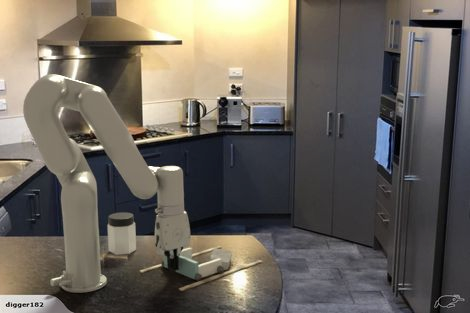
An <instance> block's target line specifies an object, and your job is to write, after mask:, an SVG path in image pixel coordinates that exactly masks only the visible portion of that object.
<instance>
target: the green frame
mask: <svg viewBox="0 0 470 313" xmlns="http://www.w3.org/2000/svg"><path fill="white" fill-rule="evenodd" d="M192 254H193V247H185V248H184V249H183V250H182V251H181V254H180V256H179V270H176V271H175V273H178V274H180V275H183V276H186V277H187V278H190V279H192V280H195V281H196V282H199V281H202V278H204V277H208V276H210V275H213V274H216V273H218V274H221V273H224V272H225V270H224V268H223V267H222V259H220V258H218V259H215V260H212V261H210V260H209V261H207V262H203V263H200V264H199V262H198V261H196V260H193V257H192ZM160 264H161V265H162V267H164V268H167V269H168V266H167V257H166V256H165V255H163V259H162V261H161V262H160Z"/></svg>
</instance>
